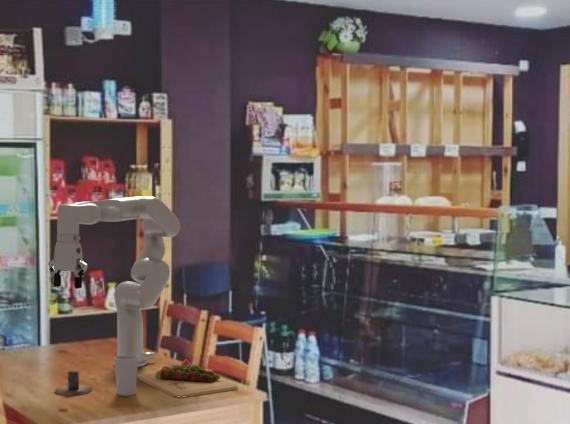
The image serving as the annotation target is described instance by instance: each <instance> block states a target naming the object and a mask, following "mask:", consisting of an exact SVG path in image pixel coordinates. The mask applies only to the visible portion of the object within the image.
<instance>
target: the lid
mask: <svg viewBox="0 0 570 424" xmlns="http://www.w3.org/2000/svg"><path fill="white" fill-rule="evenodd" d="M79 371H80V370H77V369H75V370H74V369H72V370H68V371H67V385H62V386H59V387H57V388H55V390H54V393H55V394H56V395H58V394H59V395H58V396H63V395H65V397H72V396H82V395H87V394H90V393H92V391H93V388H92V386H89V385H87V384H80V375H79V374H80V372H79Z"/></svg>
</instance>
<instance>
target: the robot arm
mask: <svg viewBox="0 0 570 424" xmlns="http://www.w3.org/2000/svg"><path fill="white" fill-rule="evenodd" d="M56 213H57V216H56V218H57V220H56V221H57V223H56V225H57V226H56V228H57V229H56V230H57V231H56V233H57V234H56V243H55V246H54V252H53V253H54V254H53V259H52V260H50V261H48V267H49V270H50V272H51V274H52V276H53V281H52V282H53V284H52V285H53V287H55V288H57V287H61V286H62V275H61V273H62V272H73V274H74V286H73V287H74V289H82V287H83V277H84V276H85V274H86V272H87V269H88V267H89V264H87V263H86V262H84V259H83V258H84V256H83V255H84V254H83V248H82V244H81V242H80V240H81V239H82V238H81V236H80V225H94V224H97V223H99V222H105V223H106V222H109V223H110V222H112V223H115V222H118V223H119V222H123V221H130V220H131V221H132V220H138V219H139V220H140V219H142V223H141V225H142V226H141V228H142V232H143V237H144V246H143V248H142V249H141V252H140V253H139V255H138V257H137V259H136V260H135V262H134V263H133V265H132V267H131V270H130V277H131V279H132V280H134V281H132V280H131V281H128V280H126V281H122V282H120V283H119V284H118V285H117V286H115V289H114V293H113V296H114V302H115V303H114V304H115V308H116V319H117V323H116V327H117V328H116V329H117V336H116V337H117V356H120V355H135V356H138V367H137V368H139V367H144V366H146V365H148V358H150V359H151V358H155V357H156V353H155V352H153V351H152V352H149V351H148V352H145V351H144V330H143V329H144V325H143V323H144V319H143V314H142V309H143V310H147V309H151V308H152V307H153V306H154V305H155V304H156V303H157V302H158V299H159V298H160V296H161V294H162V293H163V290H164V289H165V287H166V286H167V283H168V282H169V280H170V279H169V278H170V273H171V270H170V266H169V264H168V263H167V262H166V261H165V260H163V259H164V255H165V253H166V247H165V242H164V238H174V237H176V236H177V235H178V234H179V232H180V231H181V222H180V220H179V218H178V217H177V215H176V214H175V213H174V212H173V211H172V210H171V209H170V208H169V207H168V206H167V205H166V204H165V203H164V202H163V201H162V200H161V199H159V198H158V197H156V196H141V195H140V196H129V197H122V198H119V197H118V198H110V199H102V200H100V199H99V200H91V201H90V200H89V201H80V202H72V203H61V204H59V205H58V206H57V211H56ZM113 366H114V367H115V364H114V363H113Z"/></svg>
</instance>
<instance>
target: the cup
mask: <svg viewBox="0 0 570 424" xmlns="http://www.w3.org/2000/svg"><path fill="white" fill-rule="evenodd" d="M114 364H115V366H114V372H115V384H116V395H119V396H132V395H136V393H137V381H138V379H137V376H138V368H139V367H138V356H135V355H120V356H118V355H116V356H115V357H113V365H114Z"/></svg>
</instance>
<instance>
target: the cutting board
mask: <svg viewBox="0 0 570 424" xmlns="http://www.w3.org/2000/svg"><path fill="white" fill-rule="evenodd" d="M137 380H139V381H141V382H143V383H145V384H147V385H150V386H152V387H154V388H155V389H158V390H159V391H162V392H164V393H165V394H168V395H170V394H171V395H170V396H172V395H173V396H172V397H174V396H180V397H183V396H190V397H195V396H194V395H197V396H201V395H200V394H203V395H208V394H207V393H210V394H215V393H221V392H222V393H223V392H229V391H236V390H237V389H238V384H237V383H234V382H232V381H230V380H227V379H225V378H222V377H221V375H218V374H216V373H214V372H213V371H212V370H206V369H204V368H203V367H199V365H198V364H192V363H190V360H189V359H187V358H185V359H184V360H183V361H182V362H181V364H179V365H178V364H176V365H175V364H173V365H171V366H166V365H164V366H162V368H161V369H160V370H158V371H151V372H145V373H137ZM192 395H193V396H192Z"/></svg>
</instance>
